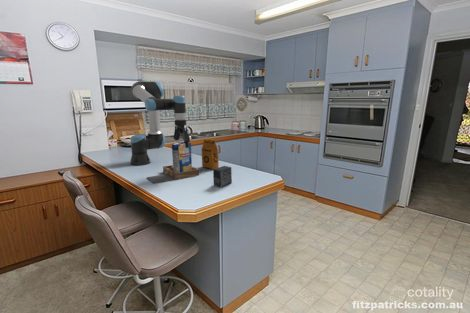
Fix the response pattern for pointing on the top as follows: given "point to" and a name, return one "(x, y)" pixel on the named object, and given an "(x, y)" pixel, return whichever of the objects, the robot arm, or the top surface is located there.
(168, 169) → the frame
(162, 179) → the mat
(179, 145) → the beverage box
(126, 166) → the top surface
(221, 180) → the small box
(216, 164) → the coffee package
